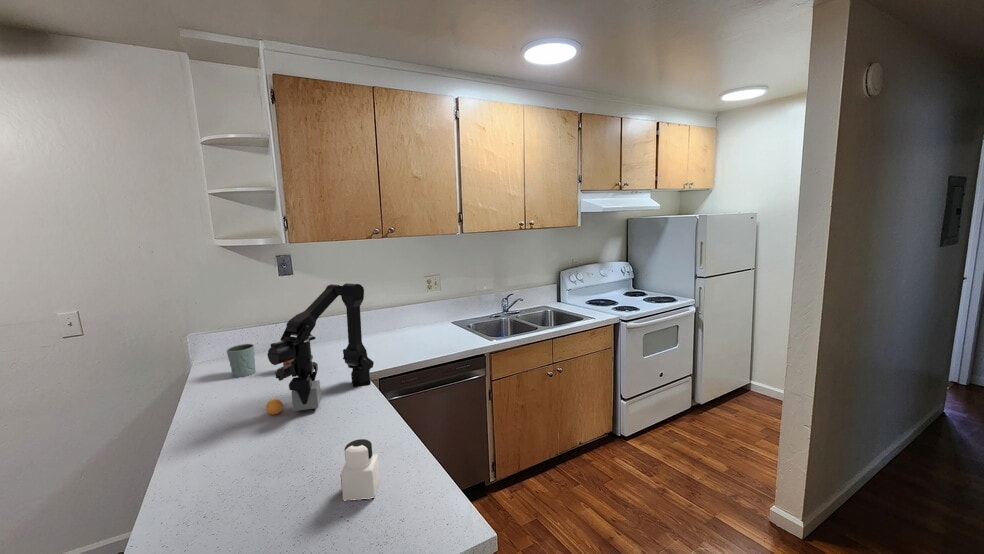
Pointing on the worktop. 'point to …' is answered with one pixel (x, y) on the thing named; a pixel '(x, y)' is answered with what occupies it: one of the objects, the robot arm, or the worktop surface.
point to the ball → (274, 406)
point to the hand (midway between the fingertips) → (306, 399)
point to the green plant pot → (242, 360)
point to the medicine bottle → (359, 471)
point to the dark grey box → (312, 399)
